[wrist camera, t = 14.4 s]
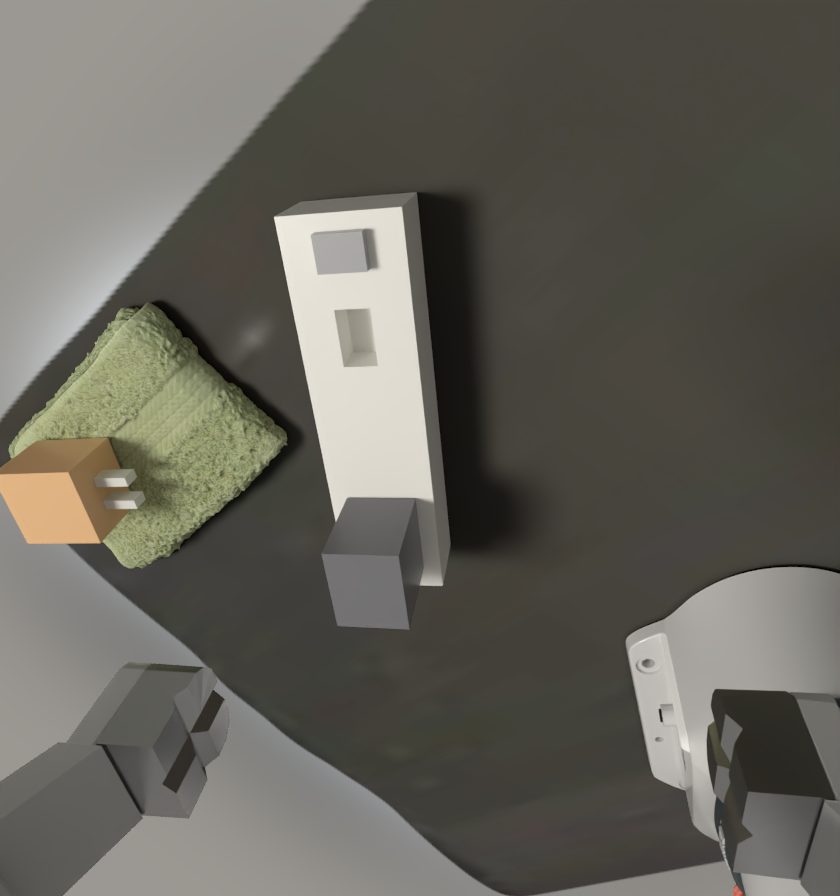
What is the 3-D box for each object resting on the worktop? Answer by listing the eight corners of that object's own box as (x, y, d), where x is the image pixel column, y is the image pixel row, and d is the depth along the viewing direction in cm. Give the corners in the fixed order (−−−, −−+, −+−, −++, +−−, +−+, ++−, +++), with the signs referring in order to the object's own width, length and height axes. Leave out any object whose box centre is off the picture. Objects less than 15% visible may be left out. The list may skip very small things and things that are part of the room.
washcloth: (13, 442, 45) (-21, 466, 42) (148, 281, 37) (116, 298, 34) (159, 561, 49) (136, 591, 46) (310, 438, 41) (293, 465, 38)
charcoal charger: (429, 545, 40) (409, 629, 34) (367, 543, 41) (337, 625, 35) (421, 478, 38) (398, 556, 32) (356, 478, 39) (321, 554, 33)
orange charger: (132, 542, 38) (27, 543, 39) (164, 503, 41) (67, 505, 43) (101, 471, 36) (-9, 474, 37) (138, 436, 39) (36, 440, 40)
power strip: (450, 544, 42) (441, 592, 39) (363, 542, 44) (345, 589, 40) (416, 192, 32) (399, 209, 28) (301, 201, 33) (269, 219, 29)
